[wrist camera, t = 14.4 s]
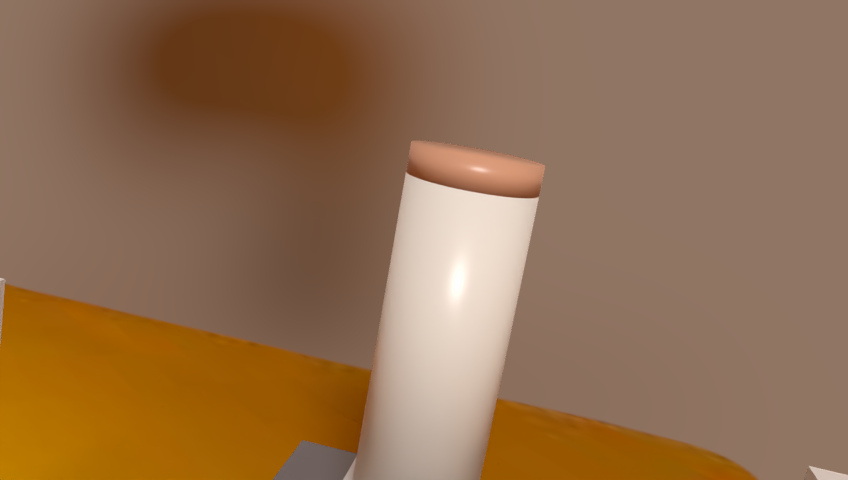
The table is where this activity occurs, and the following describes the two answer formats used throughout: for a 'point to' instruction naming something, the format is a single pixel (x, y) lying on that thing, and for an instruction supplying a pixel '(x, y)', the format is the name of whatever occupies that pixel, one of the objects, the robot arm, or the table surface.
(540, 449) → the table surface
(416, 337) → the fader knob
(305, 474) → the fader console
